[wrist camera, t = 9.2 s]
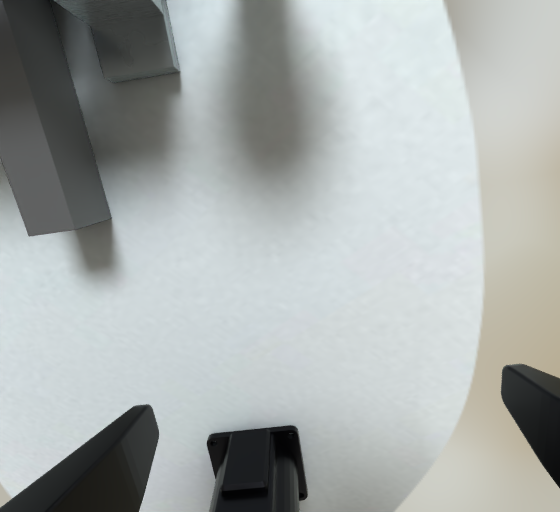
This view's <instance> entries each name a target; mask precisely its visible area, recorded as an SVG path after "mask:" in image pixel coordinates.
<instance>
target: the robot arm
mask: <svg viewBox="0 0 560 512" xmlns="http://www.w3.org/2000/svg"><path fill="white" fill-rule="evenodd" d="M501 395H502V399H503V402H504V404H505V406H506V407H507V409H508V411H509V412H510V414H511V415H512V417H513V419H514V420H515V422H516V424H517V425H518V427H519V428H520V430H521V432H522V433H523V434H524V436H525V438H526V439H527V441H528V443H529V444H530V446H531V448H532V449H533V451H534V453H535V454H536V455H537V457H538V459H539V460H540V462H541V463H542V465H543V466H544V468H545V469H546V470H547V472H548V473H549V474H550V476H551V477H552V479H553V480H554V481H555V483H556V484H557V485H558V487H559V488H560V378H557V377H555V376H552V375H550V374H547V373H545V372H542V371H540V370H537V369H534V368H532V367H529V366H527V365H524V364H514V365H506V366H504V367H503V370H502V385H501ZM289 433H293V434H289ZM158 439H159V429H158V425H157V422H156V419H155V415H154V412H153V409H152V407H151V406H150V405H148V404H146V405H137V406H134V407H132V408H131V409H129V410H128V411H127V412H125V413H124V414H123V415H121V416H120V417H119V418H117V419H116V420H115V421H114V422H112V423H111V424H110V425H108V426H107V427H106V428H104V429H103V430H102V431H100V432H99V433H98V434H96V435H95V436H94V437H93V438H91V439H90V440H89V441H87V442H86V443H85V444H83V445H82V446H81V447H79V448H78V449H77V450H75V451H74V452H73V453H72V454H70V455H69V456H68V457H66V458H65V459H64V460H62V461H61V462H60V463H58V464H57V465H56V466H54V467H53V468H52V469H51V470H49V471H48V472H47V473H45V474H44V475H43V476H41V477H40V478H39V479H37V480H36V481H35V482H33V483H32V484H31V485H30V486H28V487H27V488H26V489H24V490H23V491H22V492H20V493H19V494H18V495H16V496H15V497H14V498H12V499H11V500H10V501H9V502H7V503H6V504H5V505H3V506H2V507H1V508H0V512H139V509H140V506H141V503H142V500H143V496H144V493H145V489H146V485H147V482H148V478H149V474H150V470H151V466H152V462H153V458H154V455H155V451H156V447H157V443H158ZM213 441H216V442H213ZM207 447H208V451H209V455H210V459H211V463H212V467H213V471H214V475H215V479H216V482H215V487H214V491H213V496H212V500H211V505H210V510H209V512H299V501H301V500H305V499H306V498H307V495H308V494H307V485H306V479H305V472H304V466H303V459H302V453H301V446H300V440H299V434H298V429H297V428H296V427H295V426H281V427H271V428H262V429H252V430H243V431H233V432H223V433H214V434H211V435H209V437H208V440H207Z"/></svg>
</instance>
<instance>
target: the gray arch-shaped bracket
mask: <svg viewBox="0 0 560 512" xmlns="http://www.w3.org/2000/svg"><path fill="white" fill-rule="evenodd" d="M53 1H55V2H56V3H58V4H59V5H61V6H62V7H63V8H65V9H66V10H68V11H69V12H71V13H72V14H73V15H75V16H76V17H78V18H79V19H81V20H82V21H83V22H85V23H86V24H88V25H89V26H91V30H92V33H93V37H94V41H95V45H96V49H97V53H98V57H99V60H100V64H101V68H102V72H103V76H104V78H105V79H107V80H109V81H112V82H114V83H115V82H121V81H127V80H133V79H139V78H146V77H152V76H158V75H164V74H170V73H176V72H180V68H179V63H178V58H177V53H176V48H175V43H174V38H173V33H172V28H171V23H170V19H169V14H168V9H167V4H166V0H53Z"/></svg>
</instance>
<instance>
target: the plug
mask: <svg viewBox="0 0 560 512" xmlns="http://www.w3.org/2000/svg"><path fill="white" fill-rule="evenodd" d="M0 158H1V160H2V163H3V166H4V169H5V172H6V174H7V177H8V180H9V183H10V185H11V188H12V191H13V194H14V196H15V199H16V202H17V205H18V208H19V210H20V213H21V216H22V219H23V221H24V224H25V227H26V230H27V232H28V235H29V236H35V235H42V234H49V233H56V232H63V231H71V230H76V229H79V228H83V227H86V226H89V225H92V224H95V223H98V222H101V221H105V220H108V219H111V218H112V217H111V214H110V210H109V207H108V203H107V200H106V196H105V193H104V189H103V186H102V182H101V179H100V175H99V172H98V168H97V165H96V161H95V158H94V154H93V151H92V147H91V144H90V140H89V137H88V133H87V130H86V126H85V123H84V119H83V116H82V112H81V109H80V105H79V102H78V98H77V95H76V91H75V88H74V84H73V81H72V77H71V74H70V70H69V67H68V63H67V60H66V56H65V53H64V49H63V46H62V42H61V39H60V35H59V32H58V28H57V25H56V21H55V18H54V14H53V11H52V7H51V4H50V0H0Z"/></svg>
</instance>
